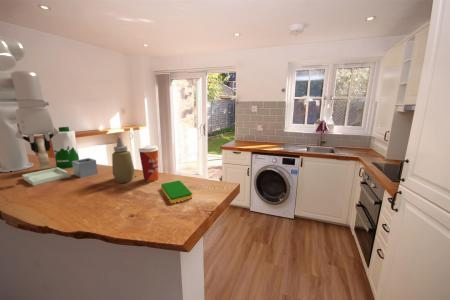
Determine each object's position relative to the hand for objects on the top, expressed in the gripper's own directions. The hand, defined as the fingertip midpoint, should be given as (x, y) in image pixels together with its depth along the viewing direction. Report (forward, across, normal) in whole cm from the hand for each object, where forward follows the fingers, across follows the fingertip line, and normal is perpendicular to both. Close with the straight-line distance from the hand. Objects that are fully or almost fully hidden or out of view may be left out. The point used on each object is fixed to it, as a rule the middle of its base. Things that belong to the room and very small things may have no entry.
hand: (41, 150), depth 82 cm
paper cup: (+13, -24, +37) cm, 46 cm away
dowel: (+7, 0, 0) cm, 7 cm away
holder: (+13, -11, +9) cm, 19 cm away
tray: (+12, 0, 0) cm, 13 cm away
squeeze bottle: (+13, -17, +29) cm, 36 cm away
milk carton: (+13, -12, -13) cm, 22 cm away
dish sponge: (+14, -20, +56) cm, 61 cm away
